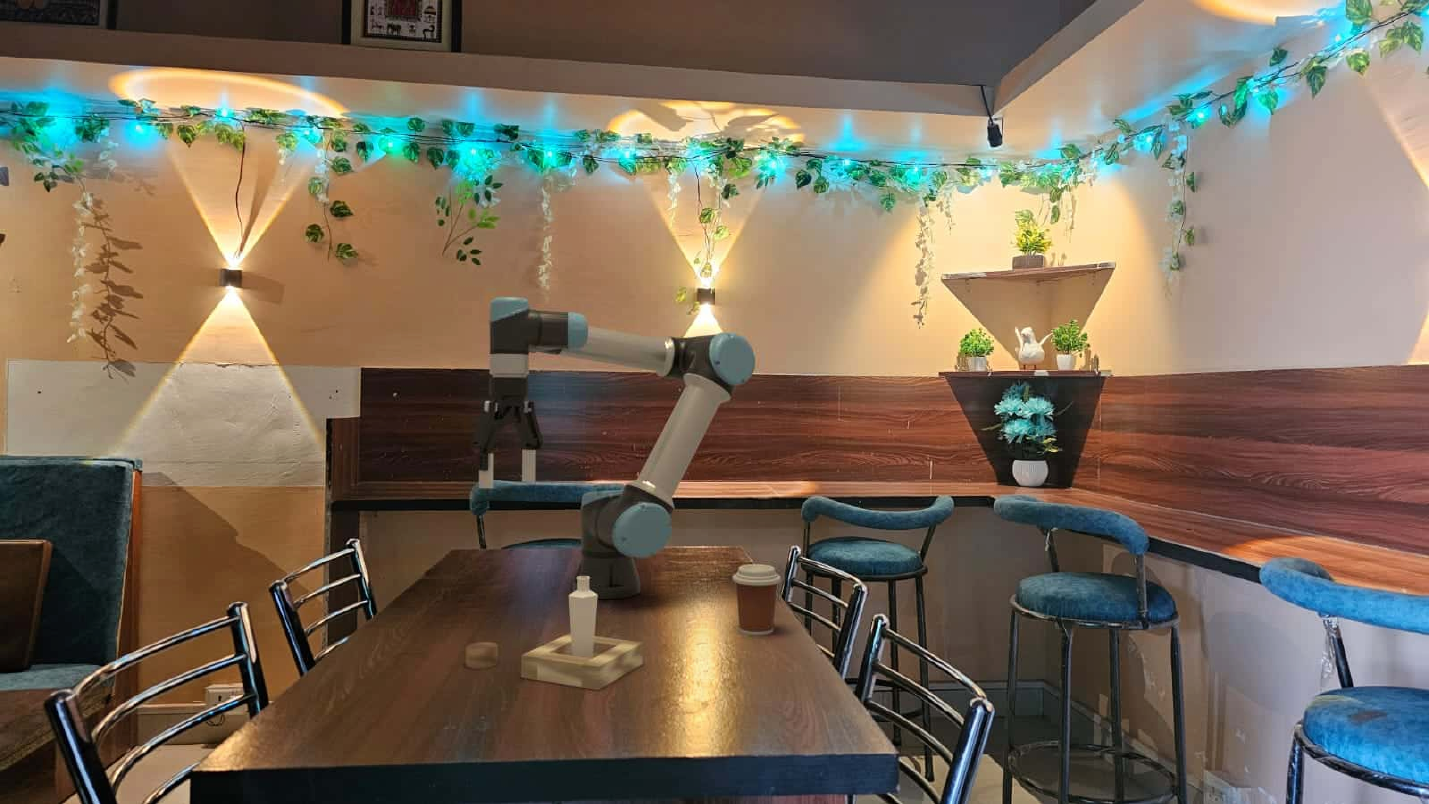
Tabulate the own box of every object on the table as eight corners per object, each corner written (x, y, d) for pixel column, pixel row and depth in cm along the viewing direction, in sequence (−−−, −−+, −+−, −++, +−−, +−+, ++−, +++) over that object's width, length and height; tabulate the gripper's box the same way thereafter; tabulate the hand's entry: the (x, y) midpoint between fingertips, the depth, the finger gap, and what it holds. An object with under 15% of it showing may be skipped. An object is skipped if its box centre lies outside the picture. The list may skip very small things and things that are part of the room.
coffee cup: (755, 640, 154) (756, 574, 154) (722, 629, 161) (722, 566, 161) (790, 631, 160) (790, 568, 160) (756, 621, 167) (757, 561, 167)
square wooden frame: (570, 653, 145) (570, 633, 145) (642, 663, 139) (642, 642, 139) (521, 677, 132) (521, 655, 132) (598, 690, 127) (598, 666, 127)
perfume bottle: (592, 676, 133) (592, 580, 133) (565, 674, 134) (566, 579, 134) (601, 667, 138) (602, 575, 138) (575, 665, 138) (576, 573, 138)
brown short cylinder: (479, 658, 142) (479, 640, 142) (503, 662, 140) (503, 644, 140) (459, 667, 137) (459, 648, 137) (484, 671, 135) (484, 652, 135)
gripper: (530, 378, 179) (529, 478, 179) (450, 374, 156) (449, 489, 156) (560, 378, 176) (559, 480, 176) (483, 374, 153) (482, 491, 153)
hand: (508, 485), depth 166 cm, fingers open, 13 cm apart
